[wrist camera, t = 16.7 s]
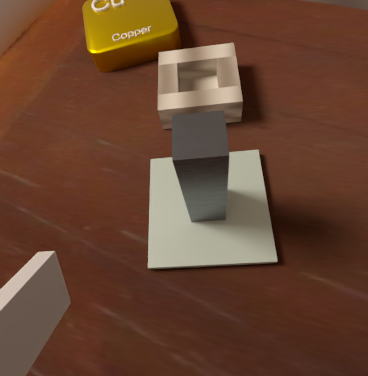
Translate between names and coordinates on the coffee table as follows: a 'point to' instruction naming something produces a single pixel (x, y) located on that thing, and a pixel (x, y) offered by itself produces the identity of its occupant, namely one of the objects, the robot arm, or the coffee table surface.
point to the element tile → (129, 31)
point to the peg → (202, 163)
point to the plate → (210, 230)
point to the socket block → (199, 83)
